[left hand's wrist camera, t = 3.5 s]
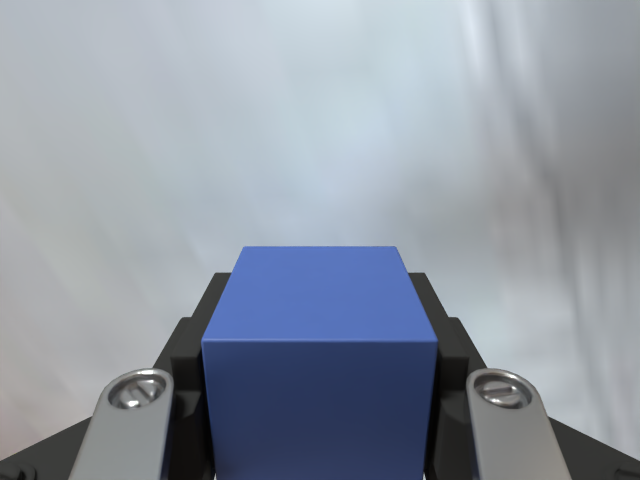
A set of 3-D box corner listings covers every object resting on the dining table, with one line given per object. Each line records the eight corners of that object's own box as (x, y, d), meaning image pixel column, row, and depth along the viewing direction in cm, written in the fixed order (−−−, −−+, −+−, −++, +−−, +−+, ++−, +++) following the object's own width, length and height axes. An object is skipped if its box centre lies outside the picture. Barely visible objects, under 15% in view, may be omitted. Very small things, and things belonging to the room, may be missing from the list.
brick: (242, 245, 12) (199, 340, 8) (396, 245, 12) (440, 339, 8) (251, 377, 13) (219, 517, 9) (388, 376, 13) (419, 516, 9)
